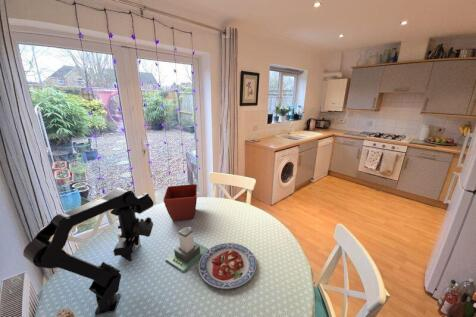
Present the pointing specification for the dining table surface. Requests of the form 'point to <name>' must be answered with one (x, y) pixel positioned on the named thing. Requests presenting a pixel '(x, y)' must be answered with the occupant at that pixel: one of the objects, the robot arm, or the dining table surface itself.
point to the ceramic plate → (227, 265)
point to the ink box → (125, 239)
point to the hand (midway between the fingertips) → (133, 252)
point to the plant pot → (181, 201)
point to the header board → (186, 257)
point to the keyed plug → (186, 240)
